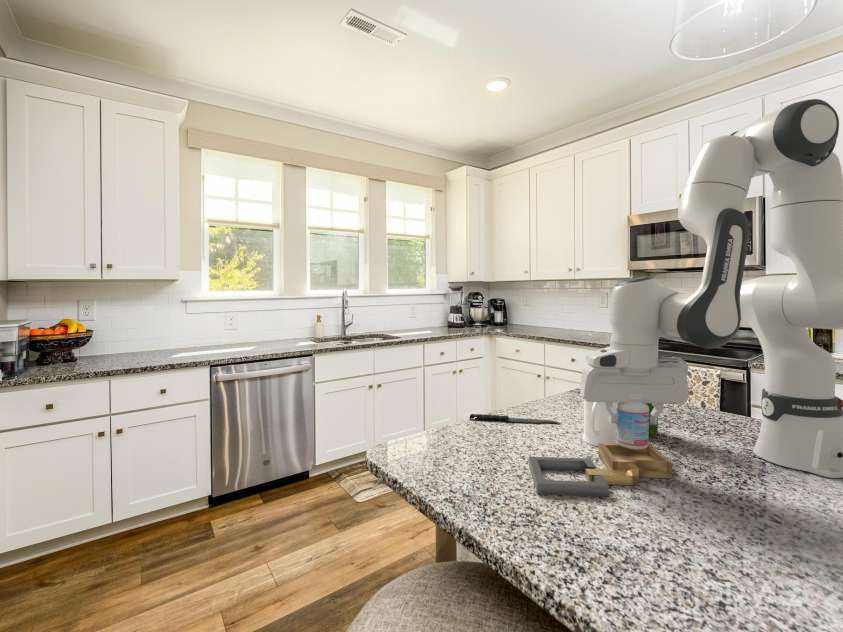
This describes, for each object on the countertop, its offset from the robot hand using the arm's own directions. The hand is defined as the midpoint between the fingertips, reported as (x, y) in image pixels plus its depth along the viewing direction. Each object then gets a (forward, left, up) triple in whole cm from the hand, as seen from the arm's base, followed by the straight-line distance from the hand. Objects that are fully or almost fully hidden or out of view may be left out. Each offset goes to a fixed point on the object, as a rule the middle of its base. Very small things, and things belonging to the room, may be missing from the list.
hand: (632, 423), depth 87 cm
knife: (+21, -30, -10) cm, 38 cm away
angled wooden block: (+6, +7, -9) cm, 13 cm away
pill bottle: (0, 0, -5) cm, 5 cm away
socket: (+15, +7, -9) cm, 19 cm away
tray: (0, 0, -9) cm, 9 cm away
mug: (+3, -14, -9) cm, 17 cm away
